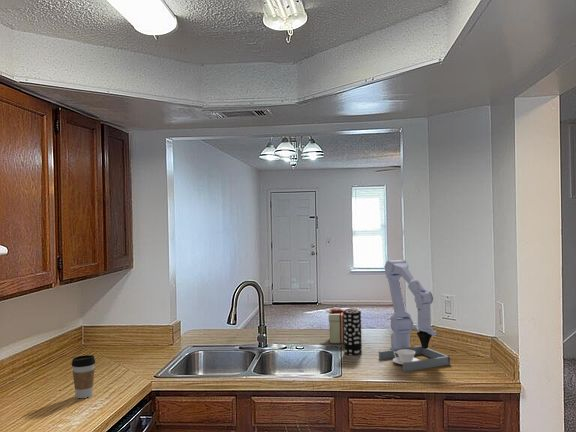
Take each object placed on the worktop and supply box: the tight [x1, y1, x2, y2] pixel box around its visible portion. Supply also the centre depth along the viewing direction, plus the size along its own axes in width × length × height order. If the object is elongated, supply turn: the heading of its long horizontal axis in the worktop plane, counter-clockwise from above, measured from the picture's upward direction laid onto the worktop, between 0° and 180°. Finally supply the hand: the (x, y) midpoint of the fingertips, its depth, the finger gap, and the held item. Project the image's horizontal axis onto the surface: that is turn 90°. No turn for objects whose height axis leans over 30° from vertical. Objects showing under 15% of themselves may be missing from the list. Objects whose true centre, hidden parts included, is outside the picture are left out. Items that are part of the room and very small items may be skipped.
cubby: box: [378, 345, 451, 372], centre depth 223 cm, size 20×24×4 cm
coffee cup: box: [71, 354, 96, 399], centre depth 188 cm, size 8×8×15 cm
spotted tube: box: [343, 309, 363, 356], centre depth 239 cm, size 8×8×20 cm
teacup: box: [392, 349, 420, 365], centre depth 221 cm, size 12×12×5 cm
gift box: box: [325, 307, 359, 344], centre depth 265 cm, size 17×18×17 cm
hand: (424, 348), depth 225 cm, fingers closed
